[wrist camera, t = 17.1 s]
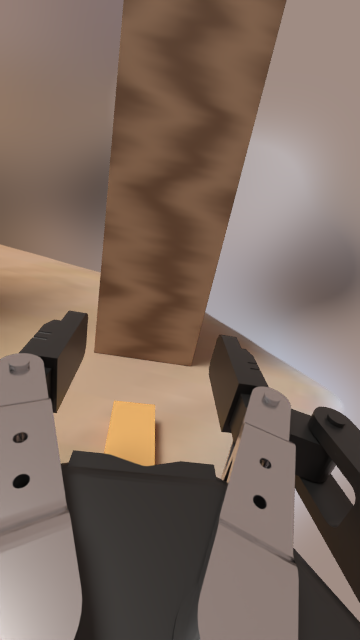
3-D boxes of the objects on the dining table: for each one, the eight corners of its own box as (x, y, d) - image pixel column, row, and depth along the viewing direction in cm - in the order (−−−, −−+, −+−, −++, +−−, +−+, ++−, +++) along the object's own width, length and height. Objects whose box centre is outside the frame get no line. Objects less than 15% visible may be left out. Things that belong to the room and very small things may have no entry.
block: (47, 763, 9) (47, 747, 8) (111, 421, 21) (114, 400, 20) (143, 754, 9) (153, 738, 8) (150, 424, 22) (154, 404, 21)
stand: (94, 352, 28) (151, -324, 13) (114, 306, 39) (158, -92, 24) (190, 366, 30) (348, -236, 14) (184, 317, 40) (269, -54, 25)
